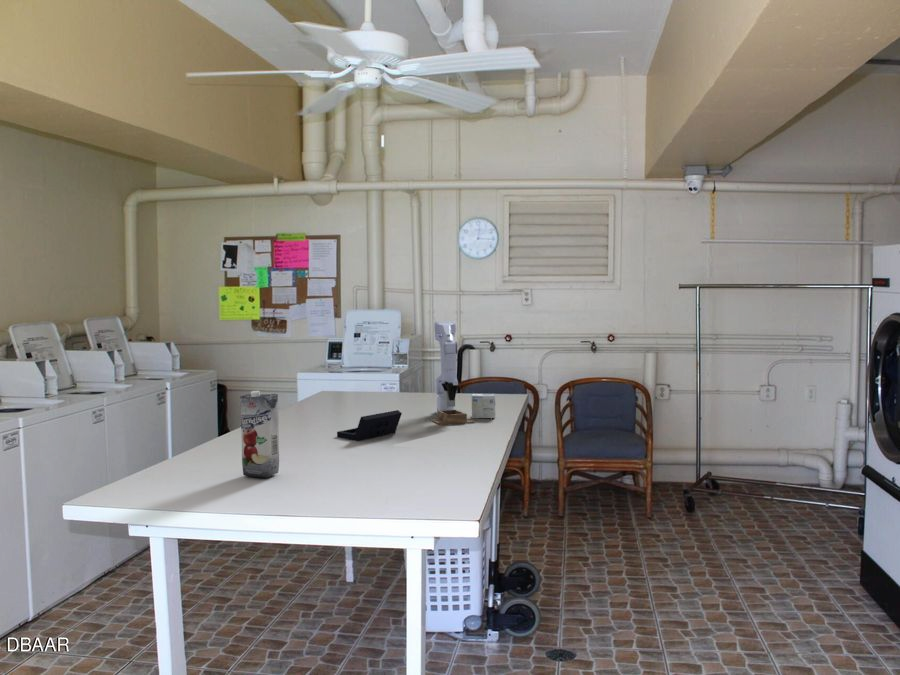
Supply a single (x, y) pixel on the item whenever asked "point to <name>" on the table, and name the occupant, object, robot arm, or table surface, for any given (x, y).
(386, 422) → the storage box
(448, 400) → the steel block
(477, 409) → the light bulb box
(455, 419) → the walnut well
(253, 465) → the juice carton
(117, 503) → the table surface
